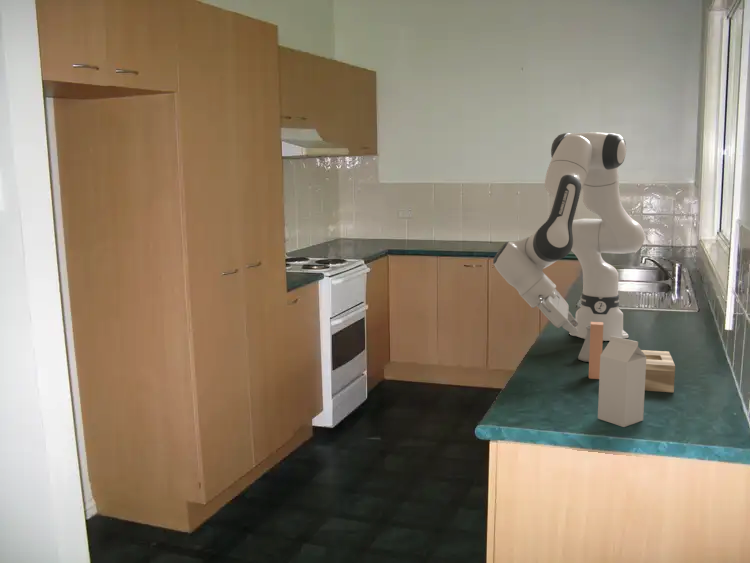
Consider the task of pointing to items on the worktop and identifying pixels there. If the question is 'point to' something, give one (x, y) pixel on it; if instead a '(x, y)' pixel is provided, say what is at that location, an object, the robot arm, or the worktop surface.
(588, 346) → the flask
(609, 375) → the milk carton
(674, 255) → the worktop surface
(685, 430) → the worktop surface
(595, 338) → the long pin
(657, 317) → the worktop surface
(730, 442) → the worktop surface
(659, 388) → the tan block with hole
